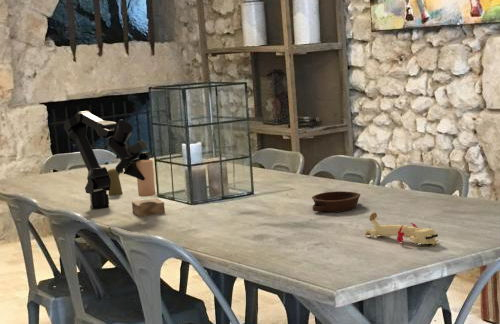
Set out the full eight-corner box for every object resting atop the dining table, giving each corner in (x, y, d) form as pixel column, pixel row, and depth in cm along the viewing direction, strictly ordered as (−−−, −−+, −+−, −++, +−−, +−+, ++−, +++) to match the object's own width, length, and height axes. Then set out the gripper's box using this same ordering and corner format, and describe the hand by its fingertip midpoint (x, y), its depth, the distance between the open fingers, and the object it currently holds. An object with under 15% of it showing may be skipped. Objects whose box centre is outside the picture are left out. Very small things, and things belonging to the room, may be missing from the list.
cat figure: (361, 243, 273) (426, 248, 254) (358, 215, 272) (423, 218, 254) (382, 236, 280) (447, 241, 261) (379, 209, 279) (444, 212, 260)
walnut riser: (139, 216, 330) (138, 206, 329) (132, 211, 339) (131, 201, 338) (164, 212, 333) (163, 202, 332) (157, 208, 342) (156, 198, 342)
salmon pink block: (140, 197, 331) (138, 163, 329) (136, 194, 337) (133, 161, 335) (157, 195, 333) (154, 161, 331) (152, 192, 339) (150, 159, 337)
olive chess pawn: (119, 195, 376) (117, 169, 374) (106, 195, 377) (104, 170, 376) (124, 192, 382) (122, 167, 380) (111, 192, 383) (109, 168, 381)
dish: (374, 205, 321) (374, 192, 320) (334, 217, 306) (333, 203, 306) (338, 200, 334) (338, 188, 333) (298, 212, 319) (297, 198, 318)
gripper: (119, 137, 324) (148, 167, 322) (145, 130, 341) (172, 159, 339) (103, 158, 329) (131, 188, 326) (129, 150, 346) (156, 178, 343)
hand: (148, 177), depth 333 cm, fingers closed on salmon pink block, 6 cm apart
